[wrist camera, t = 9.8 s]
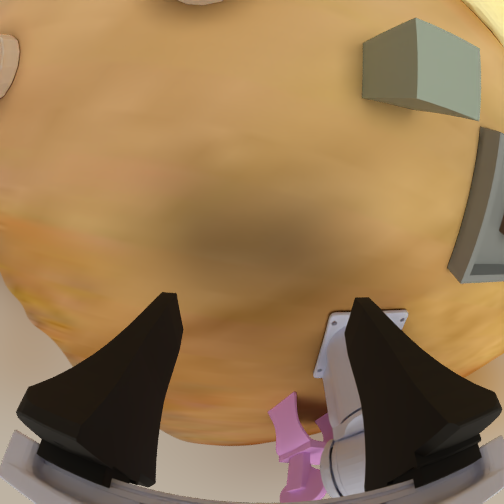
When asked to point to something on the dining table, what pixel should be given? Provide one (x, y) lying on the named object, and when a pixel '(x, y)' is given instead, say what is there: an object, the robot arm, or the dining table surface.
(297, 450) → the toy chair
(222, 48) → the dining table surface
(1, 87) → the white cup
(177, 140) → the dining table surface
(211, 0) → the shot glass
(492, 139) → the tray
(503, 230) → the short block
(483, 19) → the cloth
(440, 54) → the tall block
